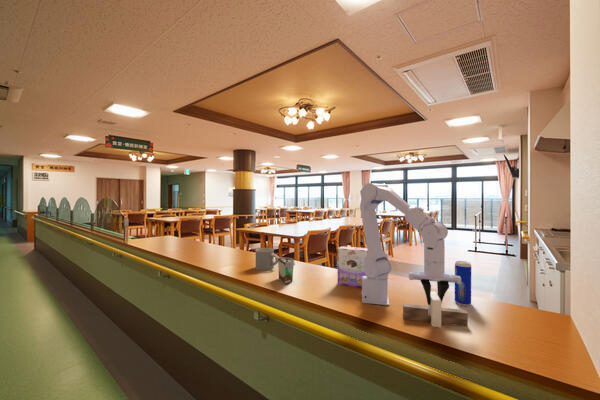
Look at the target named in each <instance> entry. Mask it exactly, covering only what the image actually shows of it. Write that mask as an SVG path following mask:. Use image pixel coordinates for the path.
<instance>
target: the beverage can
mask: <svg viewBox="0 0 600 400" xmlns="http://www.w3.org/2000/svg"><path fill="white" fill-rule="evenodd" d="M454 275H455V276H460V277H461V284H457V283H454V302H455V303H456V304H457V305H460V306H464V307H465V306H467V307H468V306H470V305H471V304H472V264H471V262H469V261H464V260H458V261H455V262H454Z"/></svg>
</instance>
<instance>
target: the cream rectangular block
mask: <svg viewBox="0 0 600 400" xmlns="http://www.w3.org/2000/svg"><path fill="white" fill-rule="evenodd" d="M430 296H431V305H428V304H427V307H428V312H429V313H430V316H431V322H430V324H431V326H433V328H440V327H441V328H442V323H441V308H442V304H441V299H440V298H439V296H438V292H437V291H433V290H431V294H430Z"/></svg>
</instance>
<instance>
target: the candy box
mask: <svg viewBox="0 0 600 400" xmlns="http://www.w3.org/2000/svg"><path fill="white" fill-rule="evenodd" d="M336 250H337V251H336V252H337V263H336V264H337V284H338V285H342V286H349V287H355V288H361V289H362V277H363V276H367V275H366V274H365V272H364V257H365V256H366V254H367V252H368V250H367V247H366V248H365V247H358V246H357V247H354V246H346V245H345V246H344V245H343V246H342V245H341V246H339V247H337V249H336Z"/></svg>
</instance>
